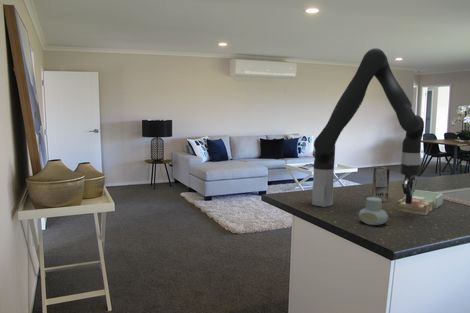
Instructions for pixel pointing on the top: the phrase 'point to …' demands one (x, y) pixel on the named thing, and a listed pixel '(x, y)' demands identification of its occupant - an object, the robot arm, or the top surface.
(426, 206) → the beige shallow box
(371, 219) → the air freshener
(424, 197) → the tile
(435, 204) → the tray
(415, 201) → the tile
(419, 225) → the top surface
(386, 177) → the coffee box
